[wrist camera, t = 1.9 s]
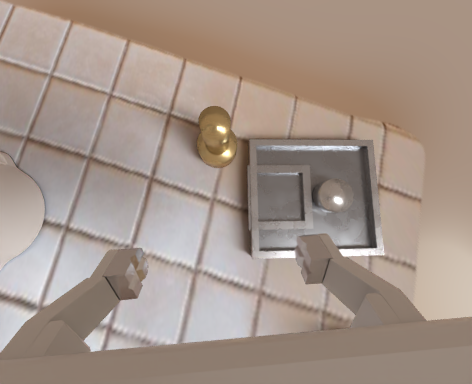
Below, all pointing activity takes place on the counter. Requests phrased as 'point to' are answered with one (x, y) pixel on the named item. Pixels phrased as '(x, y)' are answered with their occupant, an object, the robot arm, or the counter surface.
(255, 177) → the tray
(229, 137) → the gold peg with base
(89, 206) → the counter surface
